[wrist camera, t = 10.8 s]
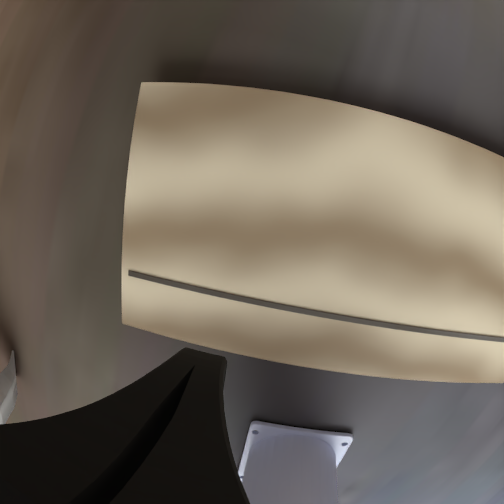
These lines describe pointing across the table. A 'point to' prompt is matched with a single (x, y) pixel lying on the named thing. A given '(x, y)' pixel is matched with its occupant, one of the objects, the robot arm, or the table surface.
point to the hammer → (8, 390)
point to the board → (313, 234)
